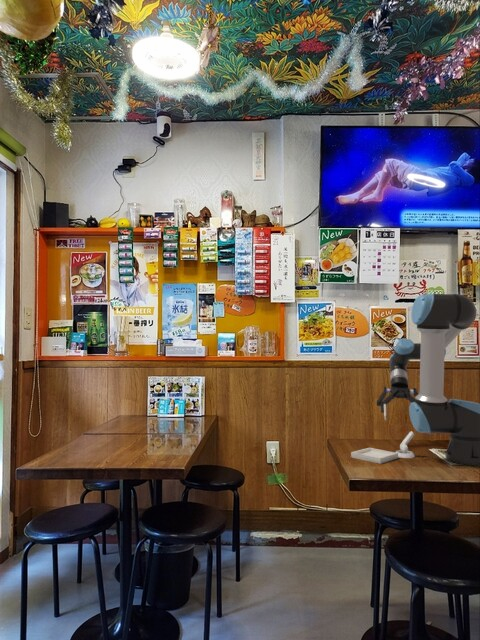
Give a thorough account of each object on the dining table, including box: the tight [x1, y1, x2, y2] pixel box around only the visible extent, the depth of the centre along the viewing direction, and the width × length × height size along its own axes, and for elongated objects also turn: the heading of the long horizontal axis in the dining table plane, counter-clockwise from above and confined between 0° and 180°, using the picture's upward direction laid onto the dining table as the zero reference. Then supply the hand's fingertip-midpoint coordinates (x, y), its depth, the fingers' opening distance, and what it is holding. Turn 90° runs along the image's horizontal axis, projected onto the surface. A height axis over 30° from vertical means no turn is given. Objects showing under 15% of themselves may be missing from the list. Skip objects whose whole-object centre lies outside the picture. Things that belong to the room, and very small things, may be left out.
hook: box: [395, 431, 415, 459], centre depth 178 cm, size 8×12×7 cm
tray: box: [350, 447, 399, 465], centre depth 175 cm, size 13×13×2 cm
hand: (401, 418), depth 188 cm, fingers open, 13 cm apart
